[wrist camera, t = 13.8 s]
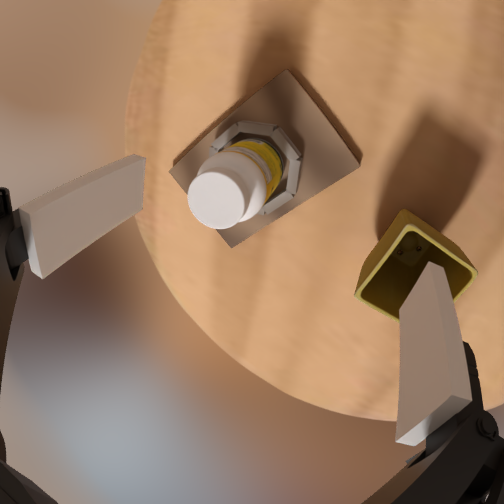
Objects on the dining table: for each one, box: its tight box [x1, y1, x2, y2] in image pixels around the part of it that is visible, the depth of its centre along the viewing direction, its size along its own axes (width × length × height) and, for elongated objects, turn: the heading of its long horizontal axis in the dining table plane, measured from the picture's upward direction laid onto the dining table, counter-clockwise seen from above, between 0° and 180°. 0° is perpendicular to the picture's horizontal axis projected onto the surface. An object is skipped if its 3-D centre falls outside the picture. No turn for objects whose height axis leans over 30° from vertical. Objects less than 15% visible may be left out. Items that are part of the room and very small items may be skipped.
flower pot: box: [354, 209, 478, 323], centre depth 29 cm, size 9×9×9 cm
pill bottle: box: [188, 138, 284, 229], centre depth 28 cm, size 6×6×11 cm
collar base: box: [168, 69, 360, 248], centre depth 32 cm, size 18×12×2 cm, turn 130°
